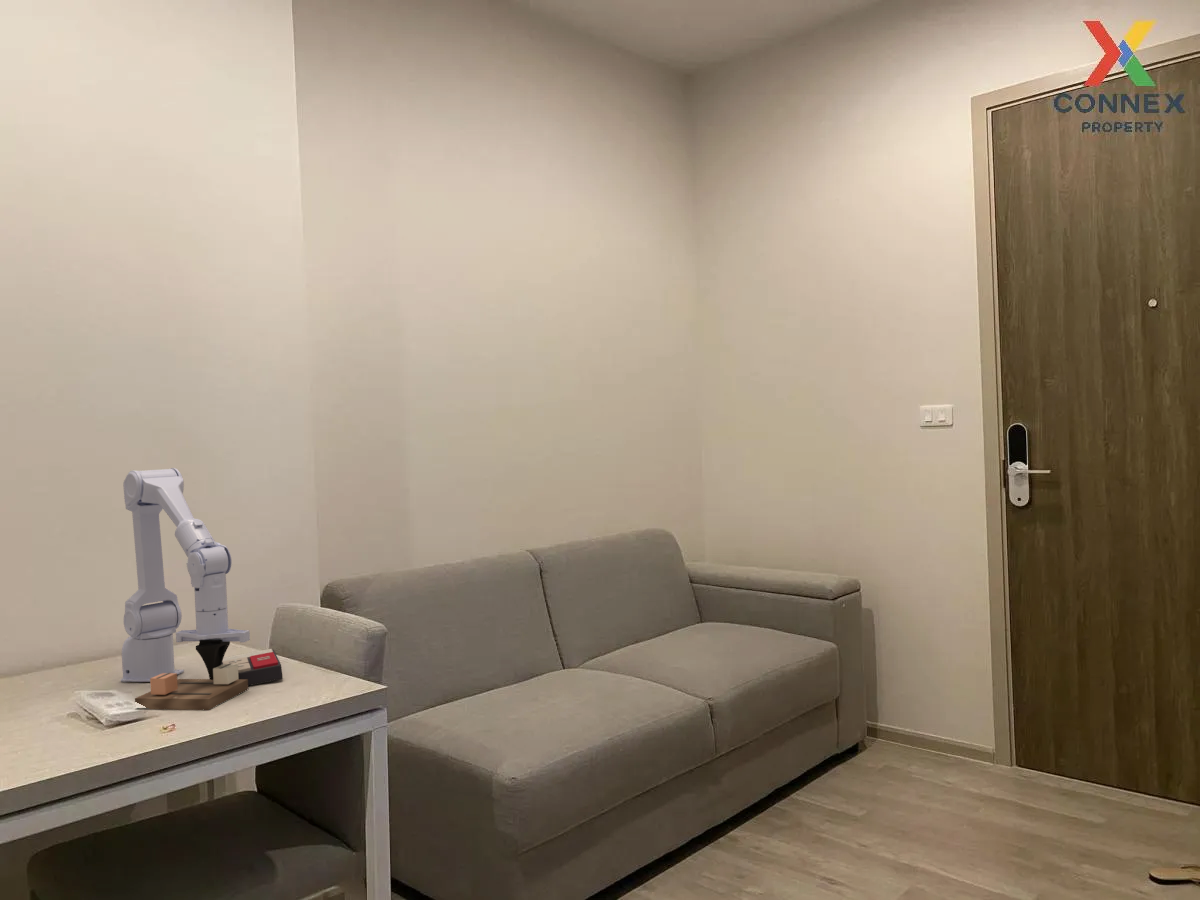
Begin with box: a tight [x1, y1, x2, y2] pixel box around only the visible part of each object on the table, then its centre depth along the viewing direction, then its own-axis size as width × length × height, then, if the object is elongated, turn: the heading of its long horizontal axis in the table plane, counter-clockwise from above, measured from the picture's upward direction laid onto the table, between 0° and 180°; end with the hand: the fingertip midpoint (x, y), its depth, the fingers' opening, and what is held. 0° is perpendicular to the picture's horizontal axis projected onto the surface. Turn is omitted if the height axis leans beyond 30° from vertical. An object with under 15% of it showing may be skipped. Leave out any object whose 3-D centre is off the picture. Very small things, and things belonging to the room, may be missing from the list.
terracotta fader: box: [149, 673, 178, 695], centre depth 170 cm, size 3×4×3 cm
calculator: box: [221, 648, 283, 687], centre depth 187 cm, size 11×4×15 cm
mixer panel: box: [134, 678, 249, 711], centre depth 172 cm, size 15×13×2 cm
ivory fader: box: [213, 663, 239, 684], centre depth 175 cm, size 3×4×3 cm
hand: (214, 678), depth 175 cm, fingers closed
